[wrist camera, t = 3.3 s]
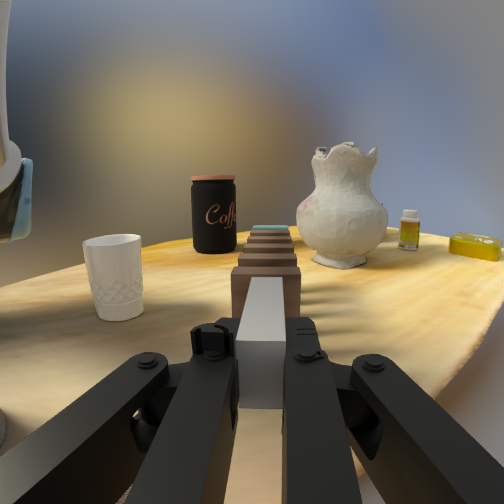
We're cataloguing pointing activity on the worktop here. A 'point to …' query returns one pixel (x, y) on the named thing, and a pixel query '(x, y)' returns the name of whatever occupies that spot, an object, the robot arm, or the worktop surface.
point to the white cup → (115, 275)
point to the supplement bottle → (409, 230)
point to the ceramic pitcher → (342, 208)
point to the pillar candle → (2, 427)
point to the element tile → (475, 246)
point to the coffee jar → (214, 214)
